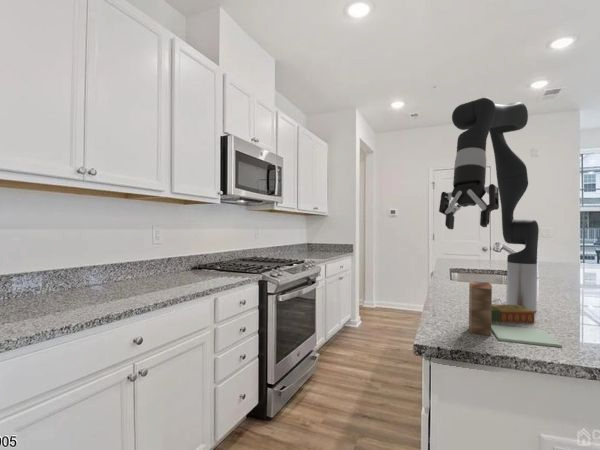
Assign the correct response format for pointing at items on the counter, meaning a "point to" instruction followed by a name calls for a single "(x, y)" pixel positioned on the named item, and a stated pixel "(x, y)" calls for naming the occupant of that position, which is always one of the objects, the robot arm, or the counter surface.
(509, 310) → the carton
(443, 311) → the counter surface
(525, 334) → the mat
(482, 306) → the copper block
